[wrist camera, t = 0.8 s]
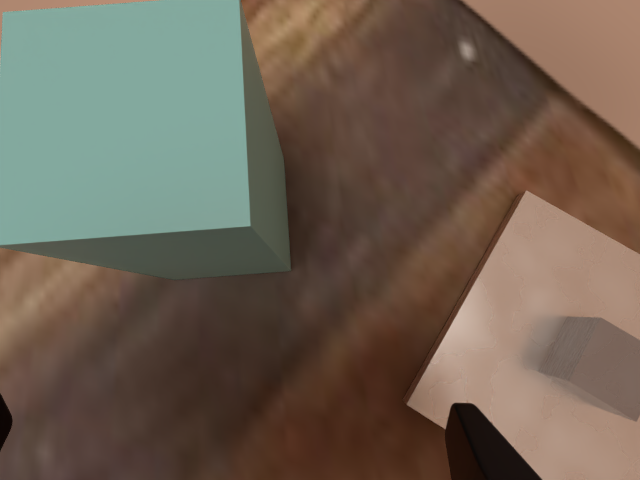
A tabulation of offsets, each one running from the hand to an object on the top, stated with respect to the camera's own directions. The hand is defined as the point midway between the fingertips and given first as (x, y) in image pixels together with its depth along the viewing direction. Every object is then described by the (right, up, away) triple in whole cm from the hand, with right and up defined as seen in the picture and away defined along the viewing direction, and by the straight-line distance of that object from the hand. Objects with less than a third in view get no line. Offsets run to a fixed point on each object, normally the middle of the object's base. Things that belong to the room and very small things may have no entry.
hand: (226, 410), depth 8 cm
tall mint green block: (-3, +5, +14) cm, 15 cm away
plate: (+14, -2, +12) cm, 19 cm away
